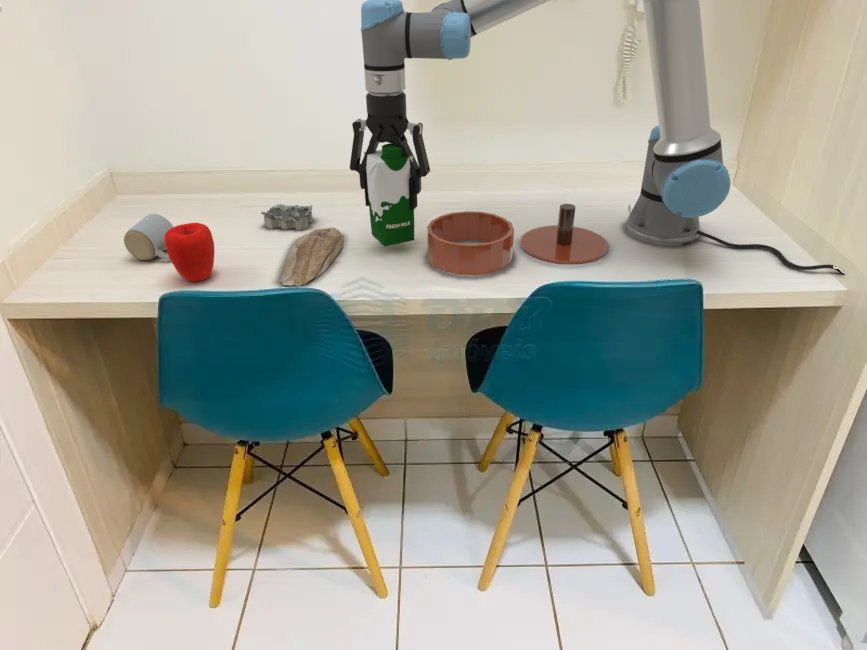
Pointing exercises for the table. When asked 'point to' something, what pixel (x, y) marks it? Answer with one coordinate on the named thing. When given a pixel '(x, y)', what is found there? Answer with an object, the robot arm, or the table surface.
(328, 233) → the fish fossil
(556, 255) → the lid
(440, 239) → the pot
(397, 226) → the milk carton
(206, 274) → the apple
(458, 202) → the table surface
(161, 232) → the ceramic mug
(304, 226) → the egg carton
